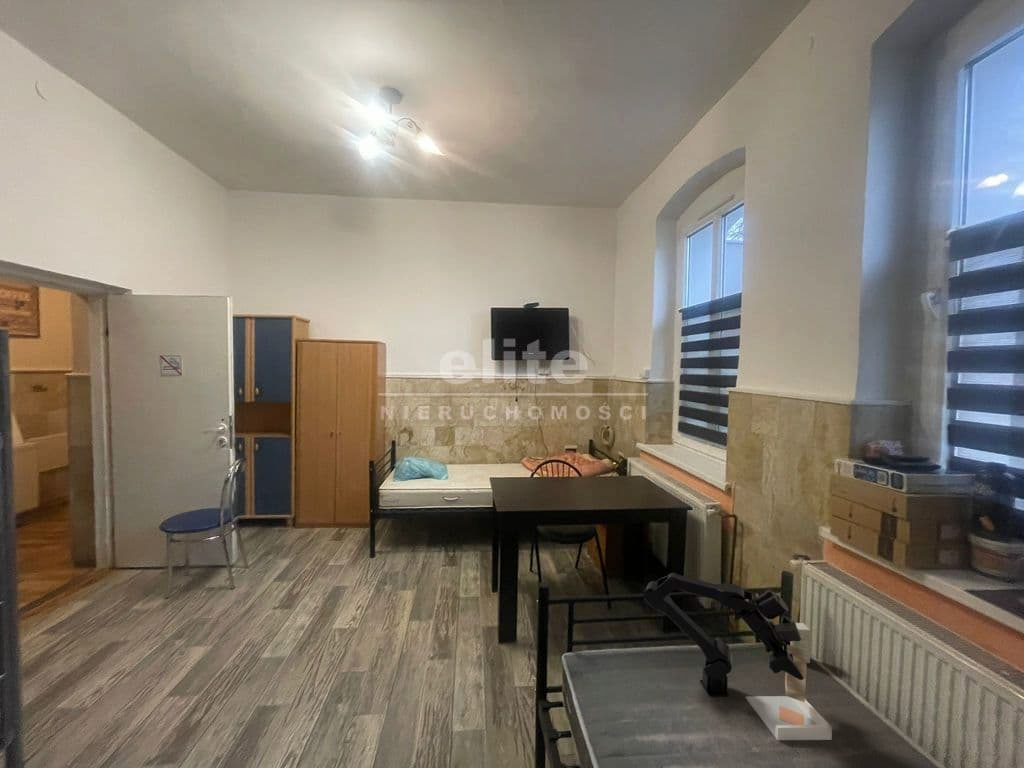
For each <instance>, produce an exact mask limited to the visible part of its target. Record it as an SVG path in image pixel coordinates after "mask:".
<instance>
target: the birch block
mask: <svg viewBox="0 0 1024 768" xmlns="http://www.w3.org/2000/svg"><path fill="white" fill-rule="evenodd" d="M787 652H788V653H789V654H792V655H793V663H794V664H795V666H796V667H797V669H798V670H799V672H800V673H801V675H802V676H803V678H804V679H803V680H799V679H797V678H796V677H794V676H792V675H790V674H788V673H787V672H785V678H784V689H785V696H788V697H790V698H793V699H796V700H799V701H802V702H805V699H806V686H807V685H806V683H807V681H806V680H807V666H808V665H807V664H808V663H807V657H806V653H805V650H804V649H801V648H797V647H794V646H790V645H787Z"/></svg>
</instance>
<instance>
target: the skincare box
mask: <svg viewBox="0 0 1024 768" xmlns="http://www.w3.org/2000/svg"><path fill="white" fill-rule="evenodd" d="M794 623H795V624H796V626H797V628H798V631H799V633H800V637H801V641H797V642H796V641H790V646H794V647H797V648H801V649H804V650H805V653H806V657H807V664H810V663H811V629H810V628H809V627H808V625H806V624H805V623H804V622H794Z"/></svg>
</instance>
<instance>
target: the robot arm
mask: <svg viewBox="0 0 1024 768" xmlns="http://www.w3.org/2000/svg"><path fill="white" fill-rule="evenodd" d="M675 590H677V591H682V592H684V593H689V594H691V595H692V594H693V595H696V596H698V597H699V596H700V597H703V598H706V599H710V600H713V601H716V602H717V603H718V604H720V605H722V606H723V607H725V608H727V609H730V610H732V611H733V614H734V615H733V620H734V621H735V622H737V621H739V620H742V621H743V622H744V623H745V625H747V627H748V628H749V630H751V632H752V633H753V634H754V637H753V638H755V640H756V641H758V640H759V641H760V643H761V644H762V645H763V646H764V650H765V651H766V653H768V654H769V653H770V652H772V654H770V655H768V667H769V669H770V670H771V671H772V673H774V674H778V673H780V672H782V671H783V672H784V673H786V672H787V673H788V674H790V675H792V676H794V677H796V678H797V679H799V680H803V679H804V678H803V676H802V675H801V673H800V672H799V670H798V669H797V667H796V666H795V664H794V663H793V655H792V654H789V653H788V652H787V645H790V641H796V642H797V641H801V637H800V633H799V631H798V628H797V626H796V624H795V623H796V622H794V620H791V619H790V618H789V617H788V616H782V615H784V614H785V613H787V612H788V611H789V607H788V606H787V604H786V602H785V601H784V600H783V598H782V597H781V596H780V595H779V594H777V593H776V592H774V591H773V590H772V589H770V588H769V589H767V590H765V592H763V593H761V594H760V595H758V594H756V593H754V592H751V591H748V590H746V589H743V587H741V586H740V585H738V584H734V583H712V582H708V581H704V580H700V579H696V578H692V577H690V576H689V577H688V576H684V575H680V574H678V573H676V572H671V573H669V574H668V575H666V576H664V577H661V578H660V579H657V580H656V581H655V580H652V581H650V582H648V584H647V586H646V589H645V590H644V592H643V599H644V601H645V603H647V604H648V605H649V606H650V607H652V608H653V609H654V610H656V611H658V612H661V613H663V614H665V615H666V616H667V617H668V618H669V619H670V620H671V621H672V622H673V623H674V624H675V625H676V626H677V627H678V628H679V629H680V630H681V631H682V632H684V634H685V635H686V636H687V637H689V639H690V640H691V641H692V642H694V643H695V644H696V645H697V646H698V647H699V648H700V650H701V651H702V653H703V655H704V657H705V659H704V665H703V666H702V679H699V682H700V684H701V685H702V687H703V689H704V691H706V693H707V694H708V696H710V697H729V696H730V694H729V692H728V691H727V690H728V685H729V683H728V682H729V680H728V679H729V678H728V676H727V675H729V673H730V672H732V668H733V654H732V650H731V649H730V645H728V644H727V643H725V642H724V641H723V640H722V638H721V637H719V636H717V637H716V638H714V637H711V636H710V635H708V634H707V632H705V631H704V630H703V628H701V627H700V626H699V625H698V624H697V623H695V621H694V620H693V619H692V618H690V616H689V615H688V614H687V613H685V611H683V610H682V609H681V608H680V606H678V605H677V604H676V603H675V602H674V601H673V599H672V597H671V595H670V594H671V593H672V592H674V591H675ZM757 595H758V596H757ZM780 616H782V617H781V620H780V621H781V622H778V624H775V623H774V622H773V621H771V620H774V619H776V618H777V617H780Z"/></svg>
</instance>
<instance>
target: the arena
mask: <svg viewBox="0 0 1024 768" xmlns="http://www.w3.org/2000/svg"><path fill="white" fill-rule="evenodd" d="M745 700H746V701H747V702H748V704H749V705H750V706H751V707H752V709H753V710H754V711H755V713H756V714H757V715H758V717H759V719H761V721H763V723H764V725H765V726H766V727H767V729H768V730H769V731H770V732H771V734H772V735H773V736H774V738H775V739H776V740H777V741H827V740H828V741H832V738H833V727H832V726H831V724H830V723H829V722H827V721H826V719H825V718H824V717H823V716H822V715H821V714H820V713H819V712H818V711H817V710H816V709H815V708H814V706H812V705H811V704H810V703H809V702H808V701H807V699H806V698H805V702H802V701H799V700H796V699H793V698H790V697H788V696H786V695H785V696H784V695H782V696H777V695H776V696H775V695H773V696H770V695H769V696H768V695H767V696H766V695H764V696H759V695H758V696H757V695H755V696H745Z"/></svg>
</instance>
